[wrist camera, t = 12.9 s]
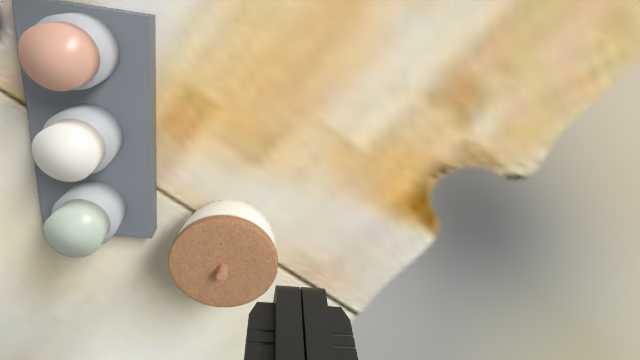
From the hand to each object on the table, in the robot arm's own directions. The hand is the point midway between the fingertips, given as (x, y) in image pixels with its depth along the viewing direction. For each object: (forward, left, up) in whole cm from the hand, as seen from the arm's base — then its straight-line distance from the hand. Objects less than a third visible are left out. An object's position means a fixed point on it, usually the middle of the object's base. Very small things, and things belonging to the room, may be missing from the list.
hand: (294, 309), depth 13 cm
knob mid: (+7, -18, -27) cm, 33 cm away
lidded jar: (+17, -4, -32) cm, 37 cm away
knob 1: (-1, -18, -27) cm, 32 cm away
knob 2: (+15, -18, -27) cm, 36 cm away
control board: (+7, -18, -32) cm, 37 cm away
